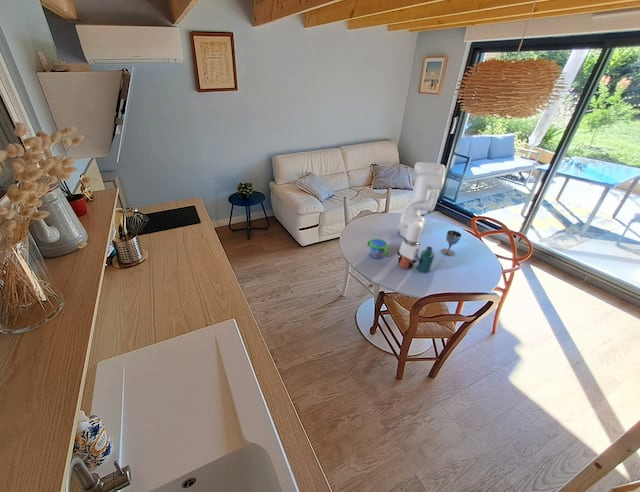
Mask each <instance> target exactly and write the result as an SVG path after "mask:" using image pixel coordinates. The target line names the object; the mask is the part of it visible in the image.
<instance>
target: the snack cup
mask: <svg viewBox="0 0 640 492" xmlns="http://www.w3.org/2000/svg"><path fill="white" fill-rule="evenodd" d="M366 246H367V247H370V249H369V250H370V257H372V258H374V259H381V258H382V257H384V258H386V257H388V256H389V249H388V243H387V241H385V240H383V239H382V238H373V239H370V240H368V241H367V244H366ZM384 253H385V254H384Z"/></svg>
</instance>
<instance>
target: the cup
mask: <svg viewBox="0 0 640 492" xmlns="http://www.w3.org/2000/svg"><path fill="white" fill-rule="evenodd" d="M410 263H411V261H410V259H409V258H407V257H405V256H402V257H401V260H400V263H399V267H400V268H402V269H403V270H405V269H406V270H408V269H410V268H409V264H410Z"/></svg>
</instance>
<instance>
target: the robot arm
mask: <svg viewBox="0 0 640 492" xmlns="http://www.w3.org/2000/svg"><path fill="white" fill-rule="evenodd" d="M413 169H414V173H415V180H414V185H413V189H412V193H413V195H410V196H409V197H408V200H407V203H406V204H405V205H404V206H403V208H402V210H401V214H400V219H399V224H398V227H397V228H398V229H399V230H400V231H399V235H400V237H403V238H404V240H403V241H402V242H401V245H400V247H397V248H396V249H395V251H396V253H397V256H398V263H399V264H400V260H401V257H402V256H405V257H407V258H409V259H410V261H411V263H410V264H409V269H411V268H413V267H414V264H416V263H419V261H420V257H419V256H418V255H419V251H420V245H421V243H420V237H421V233H422V230H423V229H424V228H425V227H426V223H427V221H426V219H425V218H424V217H422V216H421V211H424V212H433V211H434V210H435V208H436V205H437V202H438V199H439V195H440V191H441V189H442V188H443V186H444V184H445V179H446V165H444V164H443V163H442V164H441V163H433V162H424V161H417V162H416V163H414V167H413Z"/></svg>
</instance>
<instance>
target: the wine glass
mask: <svg viewBox="0 0 640 492" xmlns="http://www.w3.org/2000/svg"><path fill="white" fill-rule="evenodd" d="M461 237H462V234H461V233H460V232H459V231H456V230H448V231H447V232H446V237H445V240H446V242H447V244H448V249H447V248H446V249H445V248H443V249H442V250H441V252H442V253H443V254H444V255H446V256H451V257H452V256H454V252H453V251H452V250H450V249H451V247H452V246H454V245H456V244H458V243H459V241H460V240H461Z"/></svg>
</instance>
